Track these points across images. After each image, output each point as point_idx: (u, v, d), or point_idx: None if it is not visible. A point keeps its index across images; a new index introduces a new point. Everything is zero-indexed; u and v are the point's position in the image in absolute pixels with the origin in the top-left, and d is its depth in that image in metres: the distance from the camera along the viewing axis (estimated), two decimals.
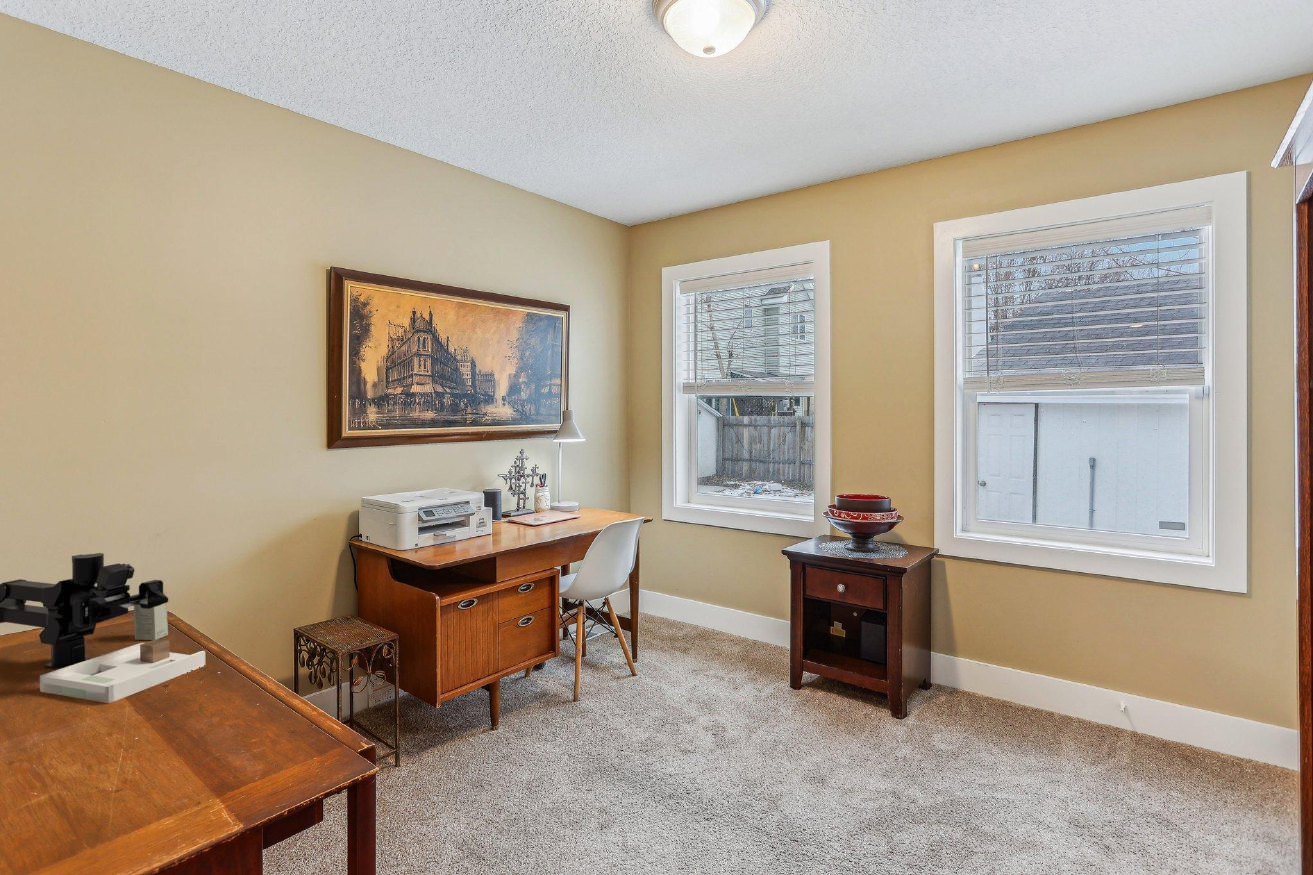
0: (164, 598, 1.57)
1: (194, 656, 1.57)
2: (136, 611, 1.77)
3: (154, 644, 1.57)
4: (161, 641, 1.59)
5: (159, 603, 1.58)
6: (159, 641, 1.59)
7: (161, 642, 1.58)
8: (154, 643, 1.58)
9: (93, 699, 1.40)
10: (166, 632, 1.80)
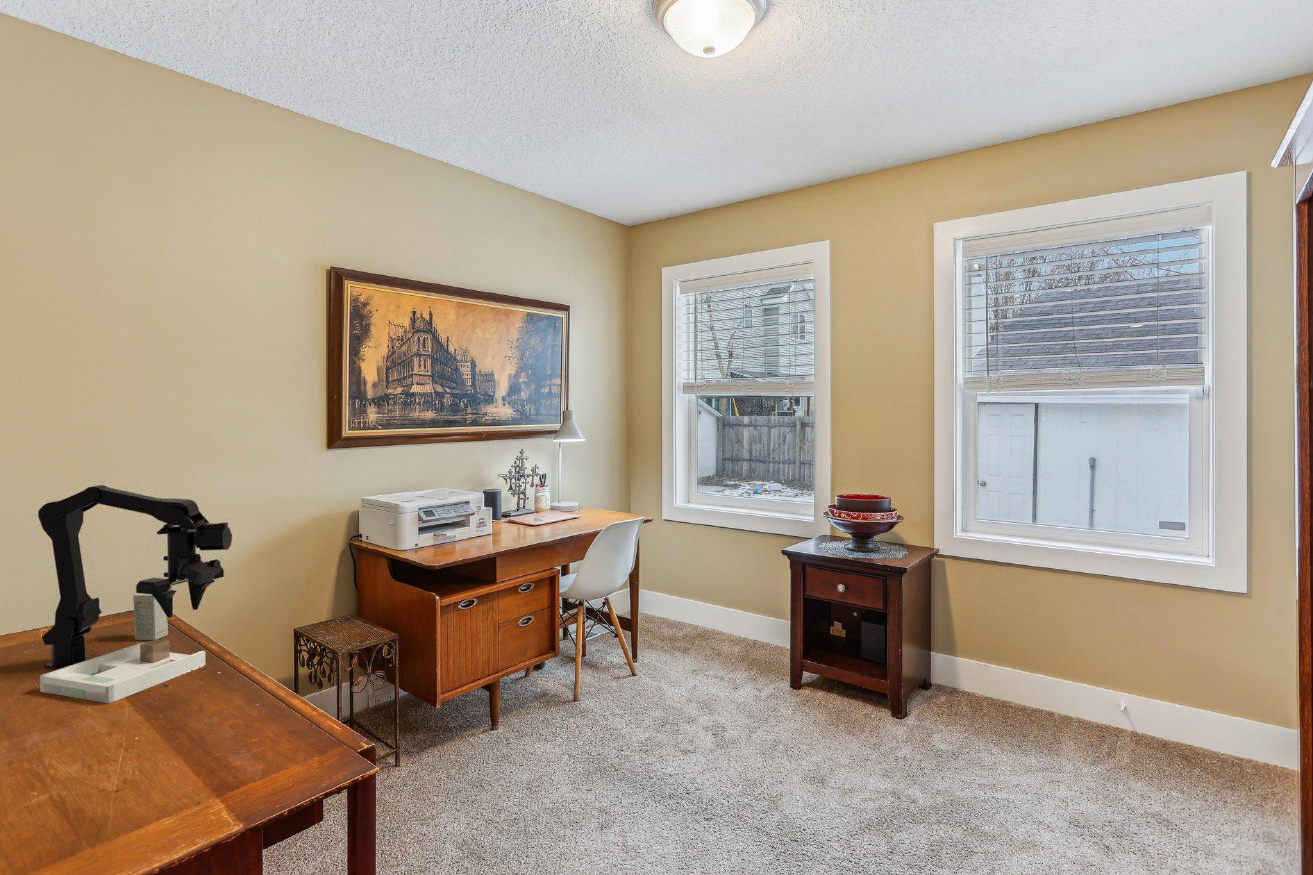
0: (195, 607, 1.68)
1: (194, 656, 1.57)
2: (136, 611, 1.77)
3: (154, 644, 1.57)
4: (161, 641, 1.59)
5: (191, 599, 1.68)
6: (159, 641, 1.59)
7: (161, 642, 1.58)
8: (154, 643, 1.58)
9: (93, 699, 1.40)
10: (166, 632, 1.80)
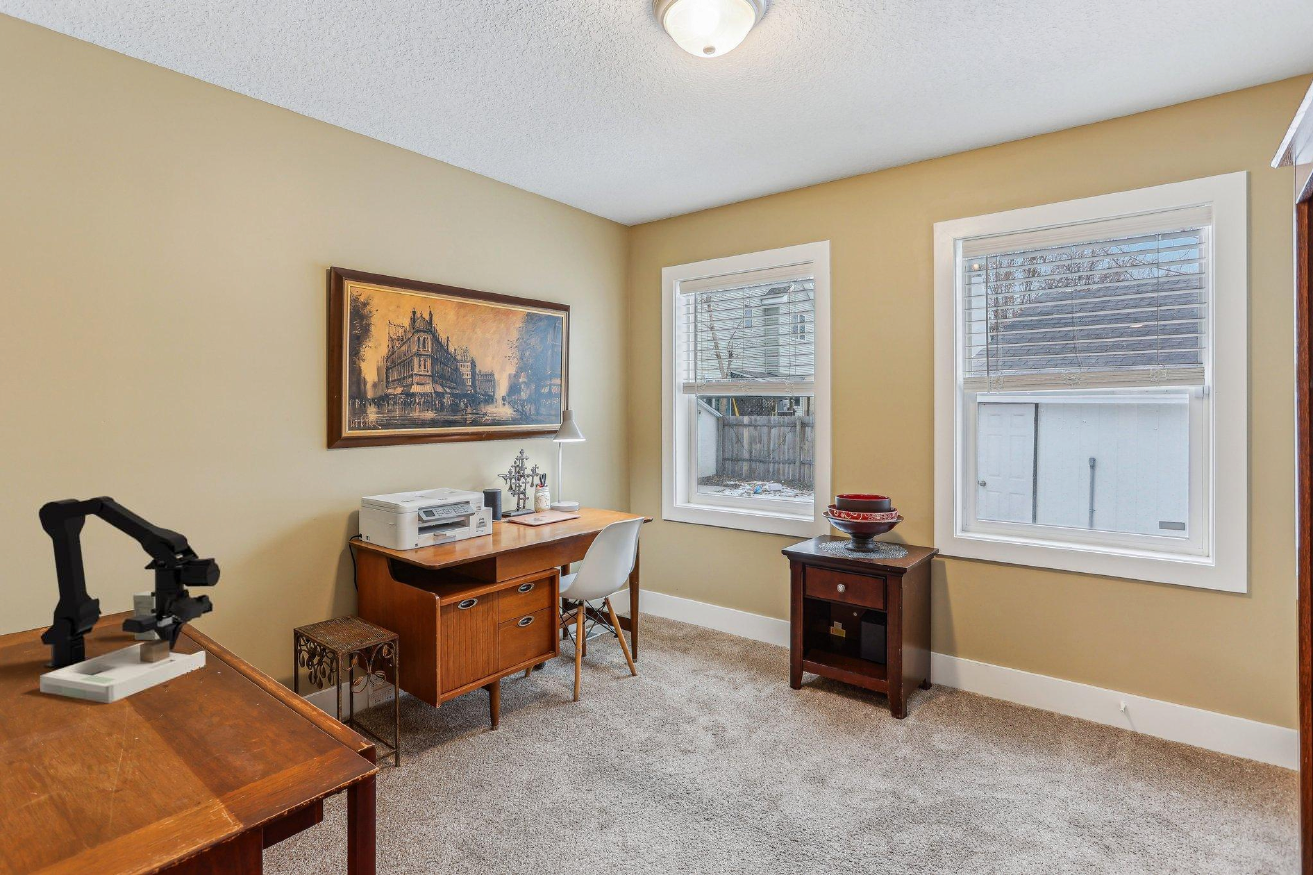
0: (171, 647, 1.62)
1: (194, 656, 1.57)
2: (136, 611, 1.77)
3: (154, 644, 1.57)
4: (161, 641, 1.59)
5: None
6: (159, 641, 1.59)
7: (161, 642, 1.58)
8: (154, 643, 1.58)
9: (93, 699, 1.40)
10: None
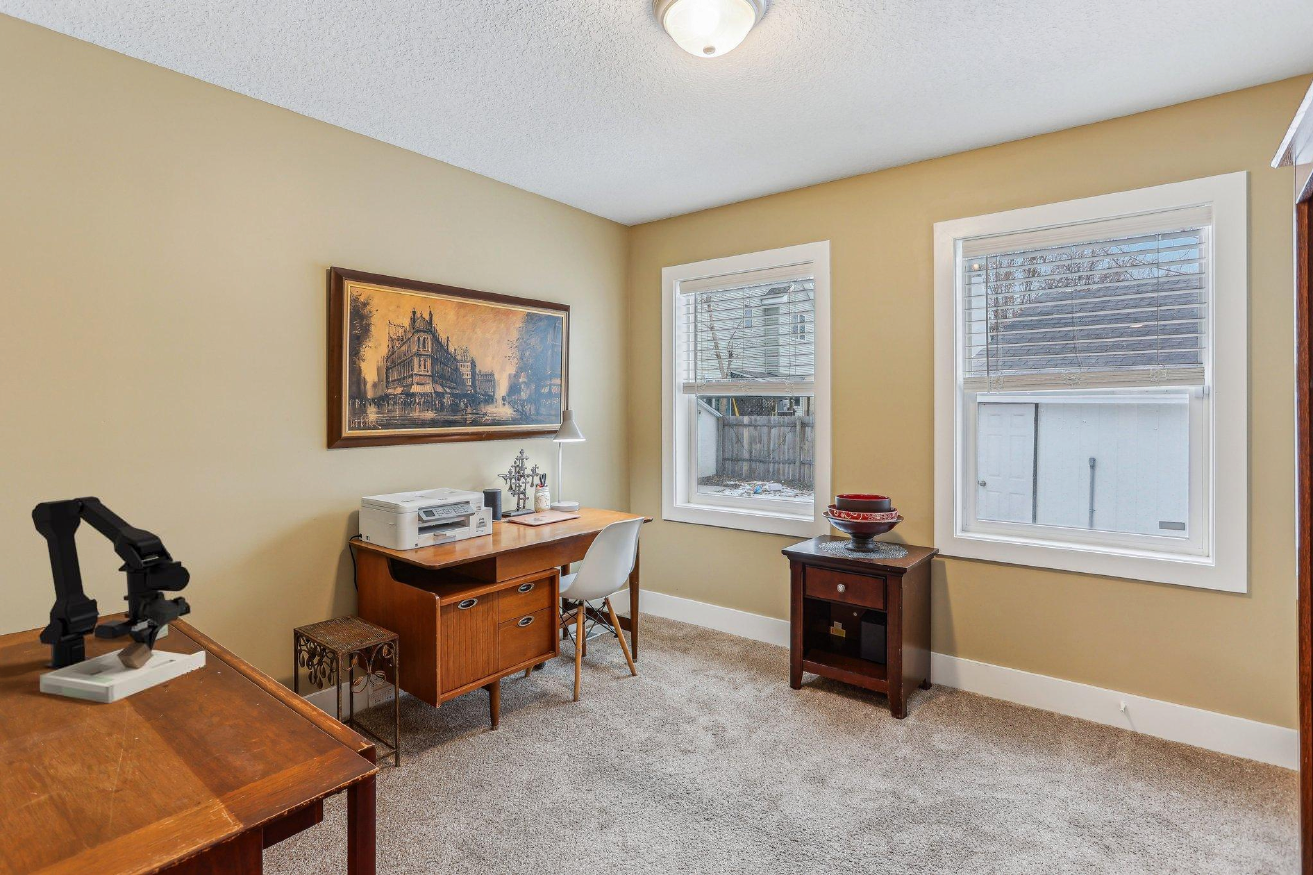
0: None
1: (194, 656, 1.57)
2: None
3: (131, 652, 1.51)
4: (137, 645, 1.53)
5: None
6: (135, 646, 1.53)
7: (138, 647, 1.53)
8: (131, 650, 1.52)
9: (93, 699, 1.40)
10: (166, 632, 1.80)
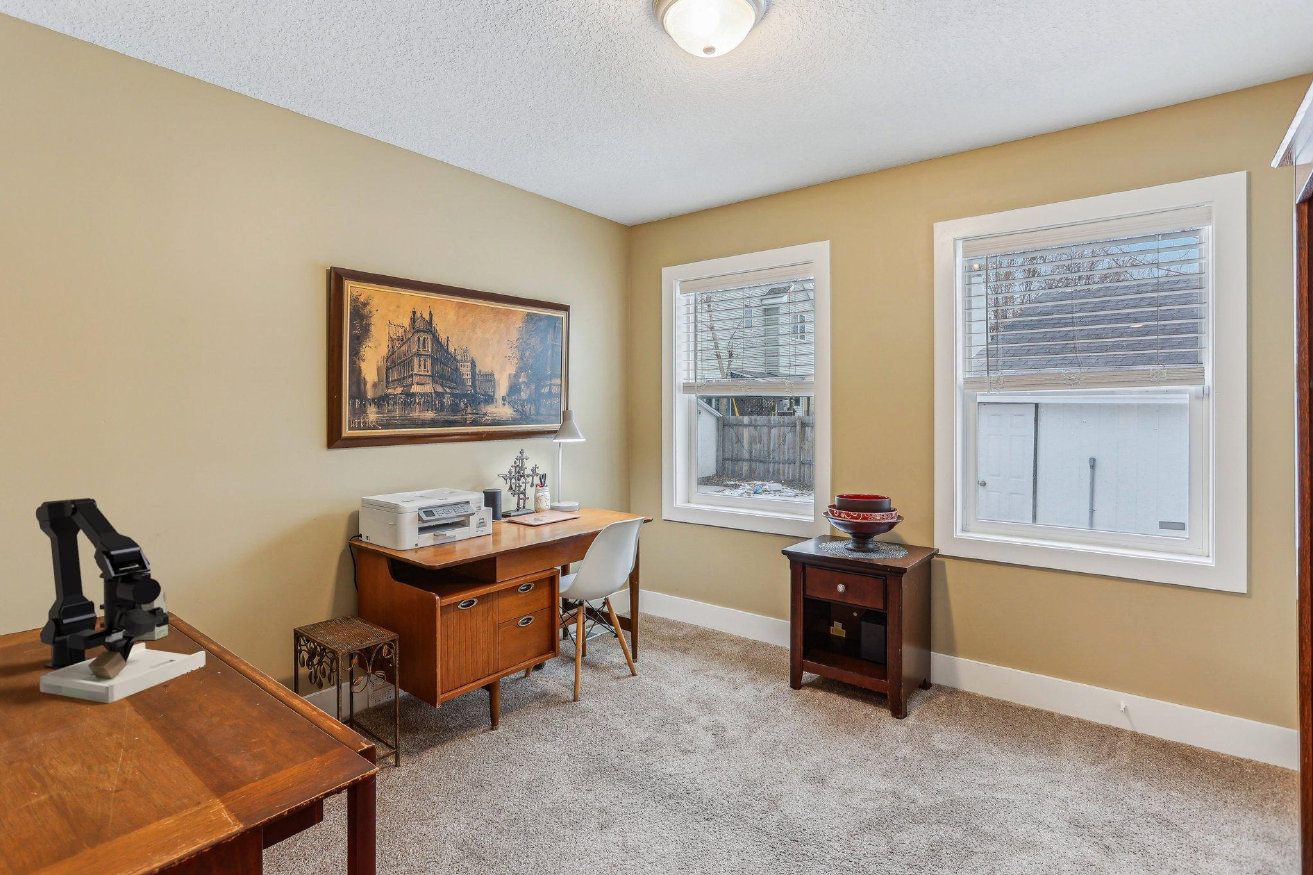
0: None
1: (194, 656, 1.57)
2: None
3: (104, 662, 1.45)
4: (110, 655, 1.47)
5: None
6: (108, 655, 1.47)
7: (111, 657, 1.47)
8: (104, 659, 1.46)
9: (93, 699, 1.40)
10: (166, 632, 1.80)
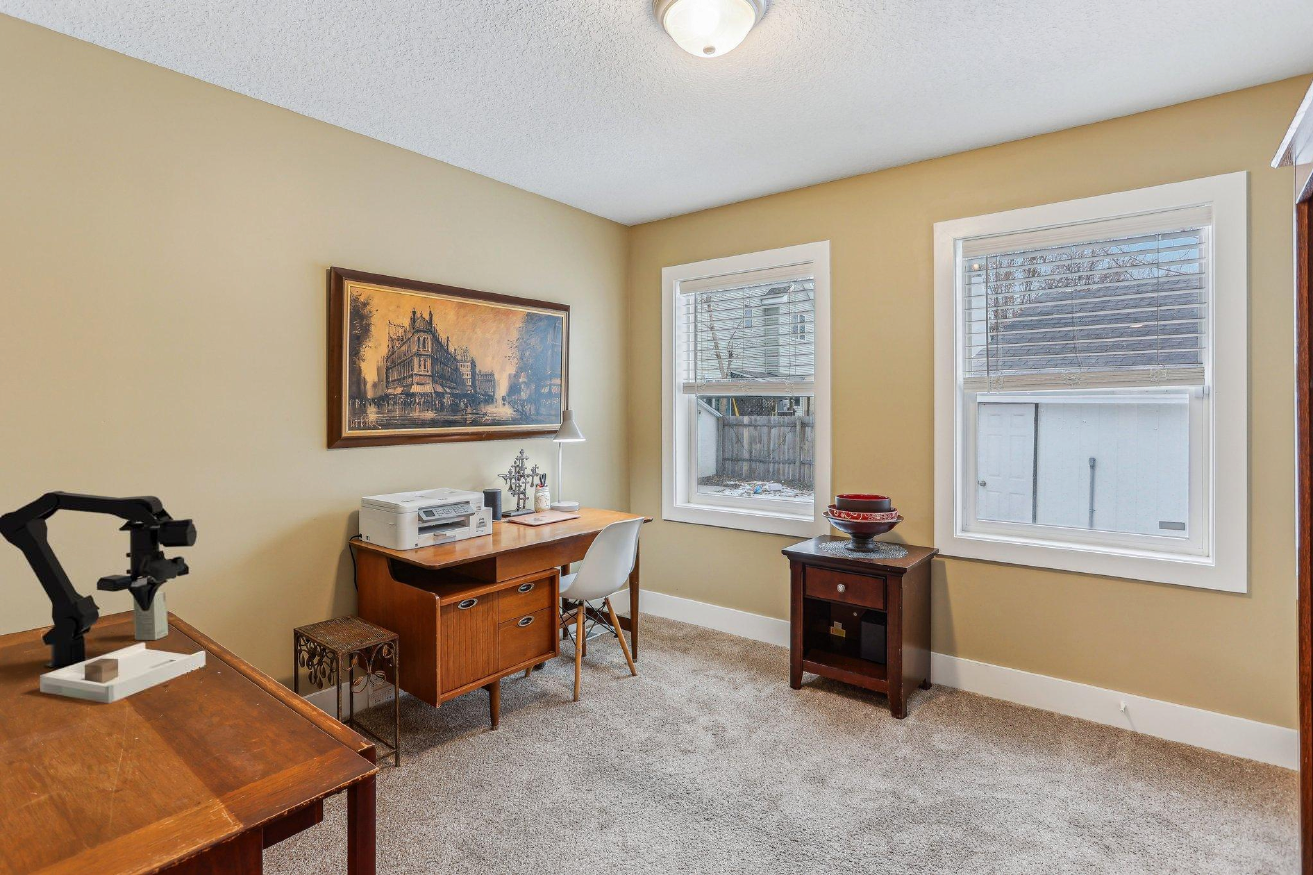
0: (146, 607, 1.63)
1: (194, 656, 1.57)
2: (136, 611, 1.77)
3: (102, 663, 1.45)
4: (108, 660, 1.47)
5: None
6: (106, 660, 1.47)
7: (109, 661, 1.46)
8: (101, 662, 1.45)
9: (93, 699, 1.40)
10: (166, 632, 1.80)
